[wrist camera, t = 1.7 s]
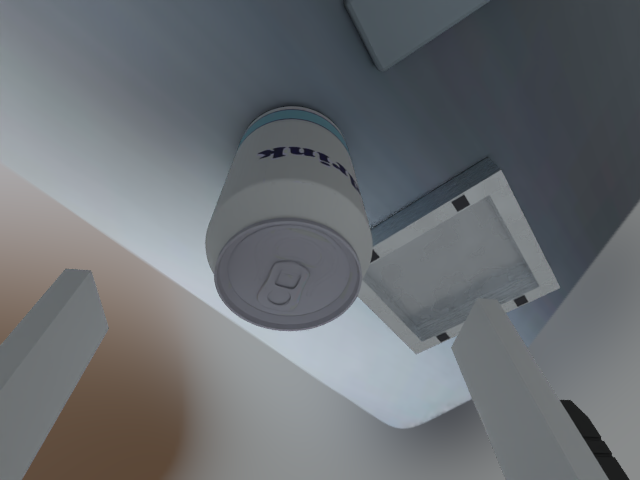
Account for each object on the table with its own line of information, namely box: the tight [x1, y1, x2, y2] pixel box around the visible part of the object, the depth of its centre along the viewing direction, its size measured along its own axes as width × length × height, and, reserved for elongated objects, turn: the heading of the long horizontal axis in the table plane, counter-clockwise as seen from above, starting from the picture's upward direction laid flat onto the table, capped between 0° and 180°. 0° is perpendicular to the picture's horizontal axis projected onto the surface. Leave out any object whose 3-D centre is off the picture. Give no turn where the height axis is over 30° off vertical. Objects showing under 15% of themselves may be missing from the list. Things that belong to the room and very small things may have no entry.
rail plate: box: [358, 157, 560, 354], centre depth 28 cm, size 13×13×2 cm
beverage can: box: [205, 106, 373, 331], centre depth 18 cm, size 7×7×12 cm
